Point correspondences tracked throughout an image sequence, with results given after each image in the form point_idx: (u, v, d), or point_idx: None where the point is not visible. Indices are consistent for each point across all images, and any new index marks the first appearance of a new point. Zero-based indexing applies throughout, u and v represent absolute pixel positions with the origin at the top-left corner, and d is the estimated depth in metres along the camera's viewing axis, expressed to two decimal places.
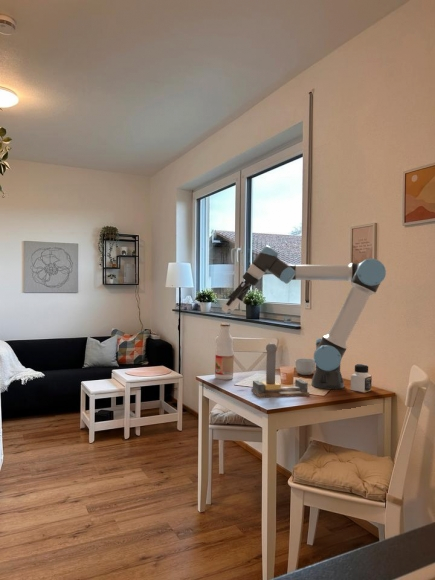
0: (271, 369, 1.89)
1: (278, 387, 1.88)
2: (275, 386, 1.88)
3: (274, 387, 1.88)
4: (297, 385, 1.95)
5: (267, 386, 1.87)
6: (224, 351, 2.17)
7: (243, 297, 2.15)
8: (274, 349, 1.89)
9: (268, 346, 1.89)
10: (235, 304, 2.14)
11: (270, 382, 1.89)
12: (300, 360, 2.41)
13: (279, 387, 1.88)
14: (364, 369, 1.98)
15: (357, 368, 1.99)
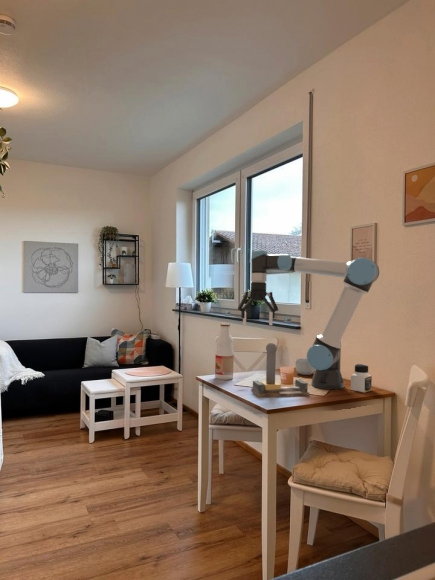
0: (271, 369, 1.89)
1: (278, 387, 1.88)
2: (275, 386, 1.88)
3: (274, 387, 1.88)
4: (297, 385, 1.95)
5: (267, 386, 1.87)
6: (224, 351, 2.17)
7: (275, 308, 2.11)
8: (274, 349, 1.89)
9: (268, 346, 1.89)
10: (270, 317, 2.11)
11: (270, 382, 1.89)
12: (300, 360, 2.41)
13: (279, 387, 1.88)
14: (364, 369, 1.98)
15: (357, 368, 1.99)
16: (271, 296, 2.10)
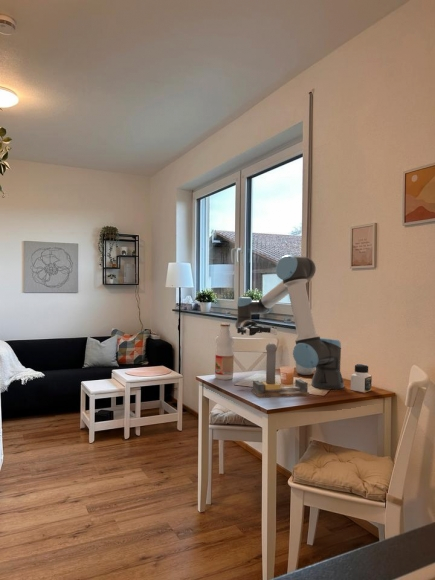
0: (271, 369, 1.89)
1: (278, 387, 1.88)
2: (275, 386, 1.88)
3: (274, 387, 1.88)
4: (297, 385, 1.95)
5: (267, 386, 1.87)
6: (224, 351, 2.17)
7: (273, 327, 2.14)
8: (274, 349, 1.89)
9: (268, 346, 1.89)
10: (272, 330, 2.08)
11: (270, 382, 1.89)
12: None
13: (279, 387, 1.88)
14: (364, 369, 1.98)
15: (357, 368, 1.99)
16: None
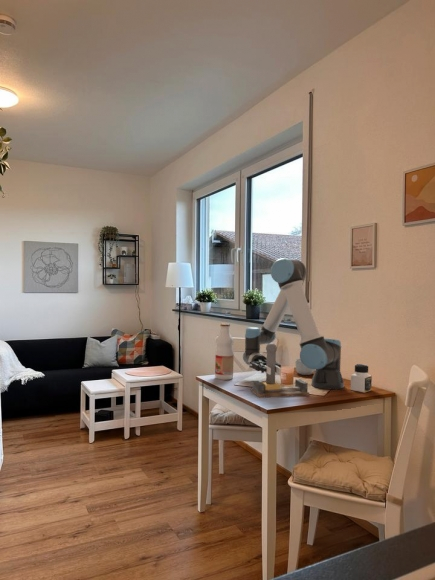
0: (271, 369, 1.89)
1: (278, 387, 1.88)
2: (275, 386, 1.88)
3: (274, 387, 1.88)
4: (297, 385, 1.95)
5: (267, 386, 1.87)
6: (224, 351, 2.17)
7: (277, 364, 1.95)
8: (274, 349, 1.89)
9: (268, 346, 1.89)
10: (276, 368, 1.90)
11: (270, 382, 1.89)
12: (300, 360, 2.41)
13: (279, 387, 1.88)
14: (364, 369, 1.98)
15: (357, 368, 1.99)
16: None
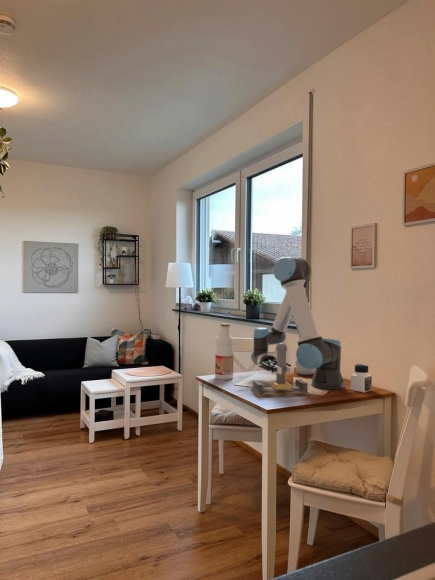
0: None
1: (288, 387, 1.89)
2: (285, 386, 1.89)
3: (285, 387, 1.89)
4: (297, 385, 1.95)
5: (277, 386, 1.88)
6: (224, 351, 2.17)
7: None
8: (285, 349, 1.90)
9: (278, 346, 1.91)
10: (286, 368, 1.91)
11: (281, 382, 1.90)
12: None
13: (289, 387, 1.89)
14: (364, 369, 1.98)
15: (357, 368, 1.99)
16: None
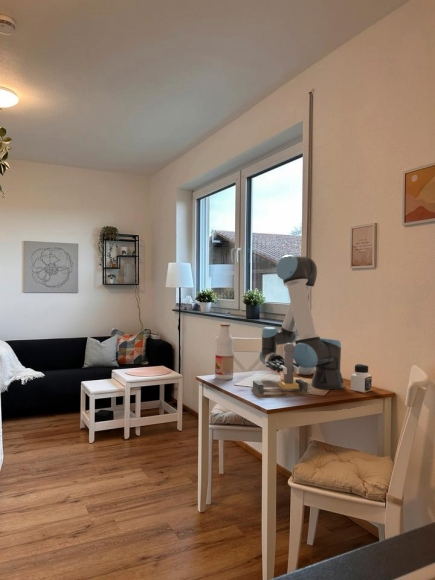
0: (289, 369, 1.91)
1: (296, 386, 1.90)
2: (293, 385, 1.90)
3: (292, 386, 1.90)
4: None
5: (285, 385, 1.89)
6: (224, 351, 2.17)
7: (295, 364, 1.97)
8: (292, 349, 1.91)
9: (286, 346, 1.91)
10: (294, 368, 1.92)
11: (288, 382, 1.91)
12: None
13: (297, 386, 1.90)
14: (364, 369, 1.98)
15: (357, 368, 1.99)
16: None
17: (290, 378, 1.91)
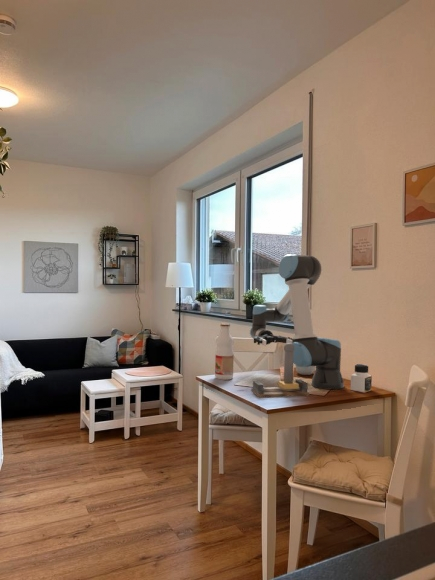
0: (289, 369, 1.91)
1: (296, 386, 1.90)
2: (293, 385, 1.90)
3: (292, 386, 1.90)
4: None
5: (285, 385, 1.89)
6: (224, 351, 2.17)
7: None
8: (292, 349, 1.91)
9: (286, 346, 1.91)
10: (288, 341, 2.10)
11: (288, 382, 1.91)
12: None
13: (297, 386, 1.90)
14: (364, 369, 1.98)
15: (357, 368, 1.99)
16: (280, 336, 2.20)
17: (290, 378, 1.91)
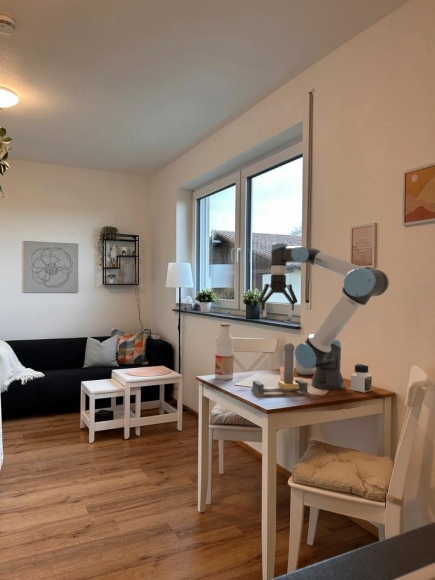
0: (289, 369, 1.91)
1: (296, 386, 1.90)
2: (293, 385, 1.90)
3: (292, 386, 1.90)
4: None
5: (285, 385, 1.89)
6: (224, 351, 2.17)
7: (294, 300, 2.15)
8: (292, 349, 1.91)
9: (286, 346, 1.91)
10: (289, 309, 2.16)
11: (288, 382, 1.91)
12: None
13: (297, 386, 1.90)
14: (364, 369, 1.98)
15: (357, 368, 1.99)
16: (291, 288, 2.15)
17: (290, 378, 1.91)
